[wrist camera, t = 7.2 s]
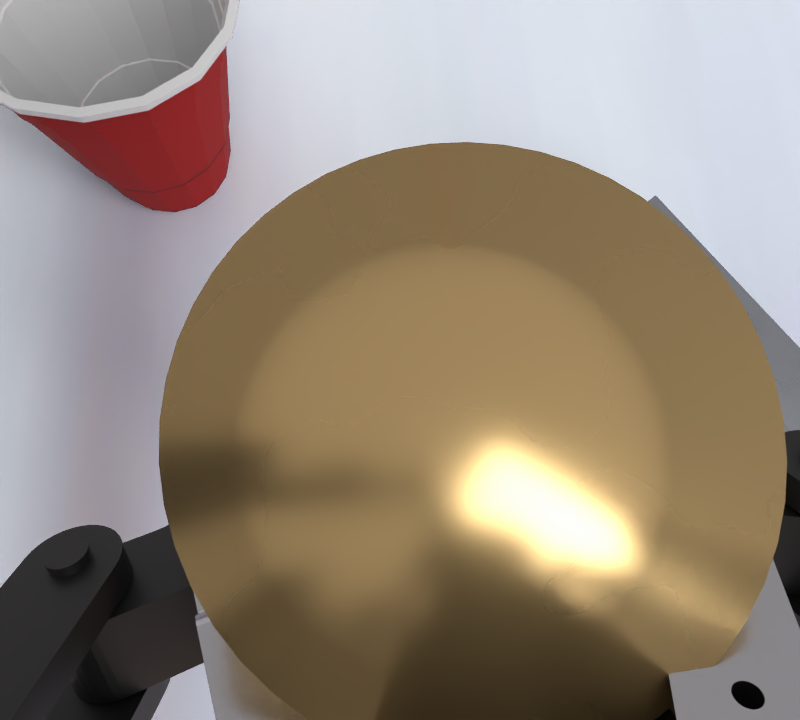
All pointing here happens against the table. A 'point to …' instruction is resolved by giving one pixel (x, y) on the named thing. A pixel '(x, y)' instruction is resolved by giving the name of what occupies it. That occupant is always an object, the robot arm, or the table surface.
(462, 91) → the table surface
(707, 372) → the gold capped peg
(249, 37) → the table surface
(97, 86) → the plastic cup
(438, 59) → the table surface
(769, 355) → the jig
